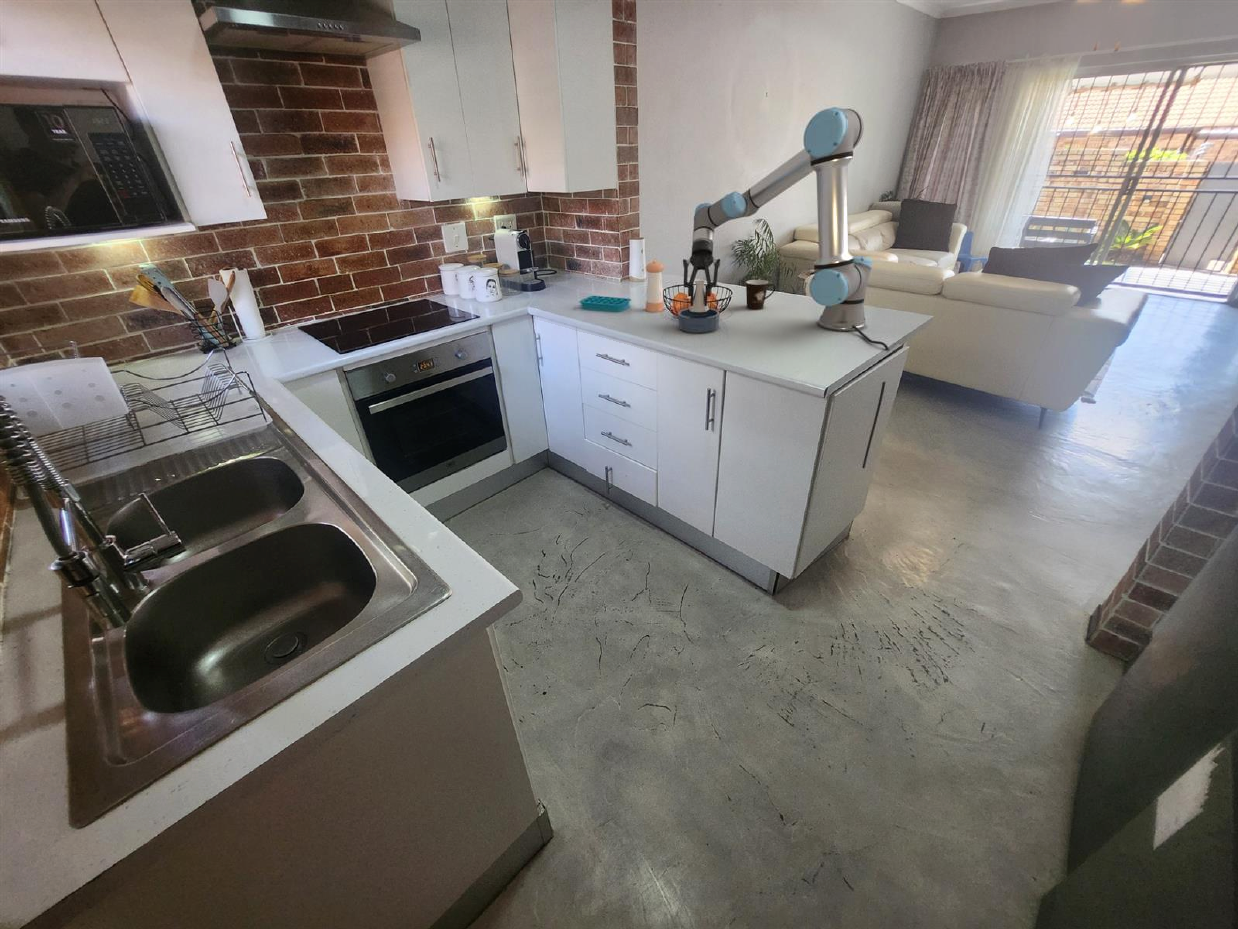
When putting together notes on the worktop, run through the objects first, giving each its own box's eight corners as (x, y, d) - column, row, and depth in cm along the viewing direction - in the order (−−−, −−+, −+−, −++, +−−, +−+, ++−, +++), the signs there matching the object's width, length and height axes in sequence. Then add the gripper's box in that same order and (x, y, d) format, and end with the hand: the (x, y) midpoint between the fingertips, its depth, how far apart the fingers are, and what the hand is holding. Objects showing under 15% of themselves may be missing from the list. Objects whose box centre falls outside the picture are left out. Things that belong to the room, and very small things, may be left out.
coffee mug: (743, 310, 202) (745, 284, 197) (744, 304, 209) (746, 279, 204) (773, 310, 200) (776, 284, 194) (773, 305, 207) (776, 279, 201)
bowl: (725, 330, 181) (726, 314, 178) (689, 336, 177) (689, 320, 174) (706, 320, 193) (707, 305, 190) (671, 325, 189) (671, 310, 186)
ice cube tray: (592, 302, 224) (591, 295, 223) (632, 305, 216) (632, 298, 214) (578, 308, 216) (577, 301, 214) (619, 312, 207) (619, 305, 206)
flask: (708, 313, 178) (709, 283, 173) (687, 312, 179) (688, 283, 174) (709, 307, 184) (710, 278, 179) (689, 307, 185) (690, 279, 180)
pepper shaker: (656, 306, 213) (656, 258, 203) (667, 309, 208) (667, 260, 198) (642, 309, 210) (641, 260, 200) (652, 313, 205) (652, 263, 195)
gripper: (726, 251, 184) (723, 309, 179) (679, 252, 187) (674, 309, 182) (727, 238, 177) (724, 298, 172) (678, 239, 180) (673, 298, 175)
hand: (698, 303), depth 177 cm, fingers closed on flask, 4 cm apart
